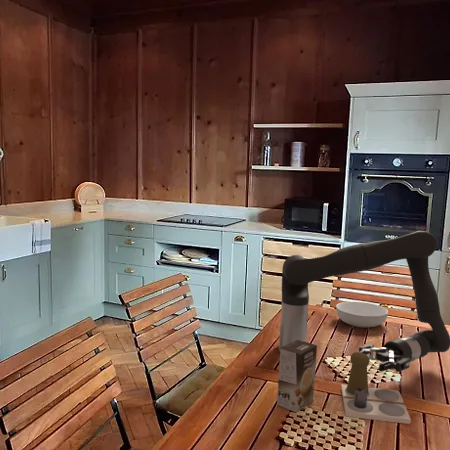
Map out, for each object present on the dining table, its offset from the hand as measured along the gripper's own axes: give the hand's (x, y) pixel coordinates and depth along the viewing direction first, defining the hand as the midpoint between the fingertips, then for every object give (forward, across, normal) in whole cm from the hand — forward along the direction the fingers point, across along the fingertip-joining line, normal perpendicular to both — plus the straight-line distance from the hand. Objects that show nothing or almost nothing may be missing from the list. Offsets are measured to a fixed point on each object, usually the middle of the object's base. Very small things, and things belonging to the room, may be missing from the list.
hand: (367, 362), depth 135 cm
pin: (+9, +6, +8) cm, 13 cm away
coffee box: (+21, -6, +10) cm, 24 cm away
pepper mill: (+3, 0, +8) cm, 9 cm away
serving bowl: (-48, -41, +10) cm, 64 cm away
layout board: (+4, +6, +9) cm, 11 cm away
